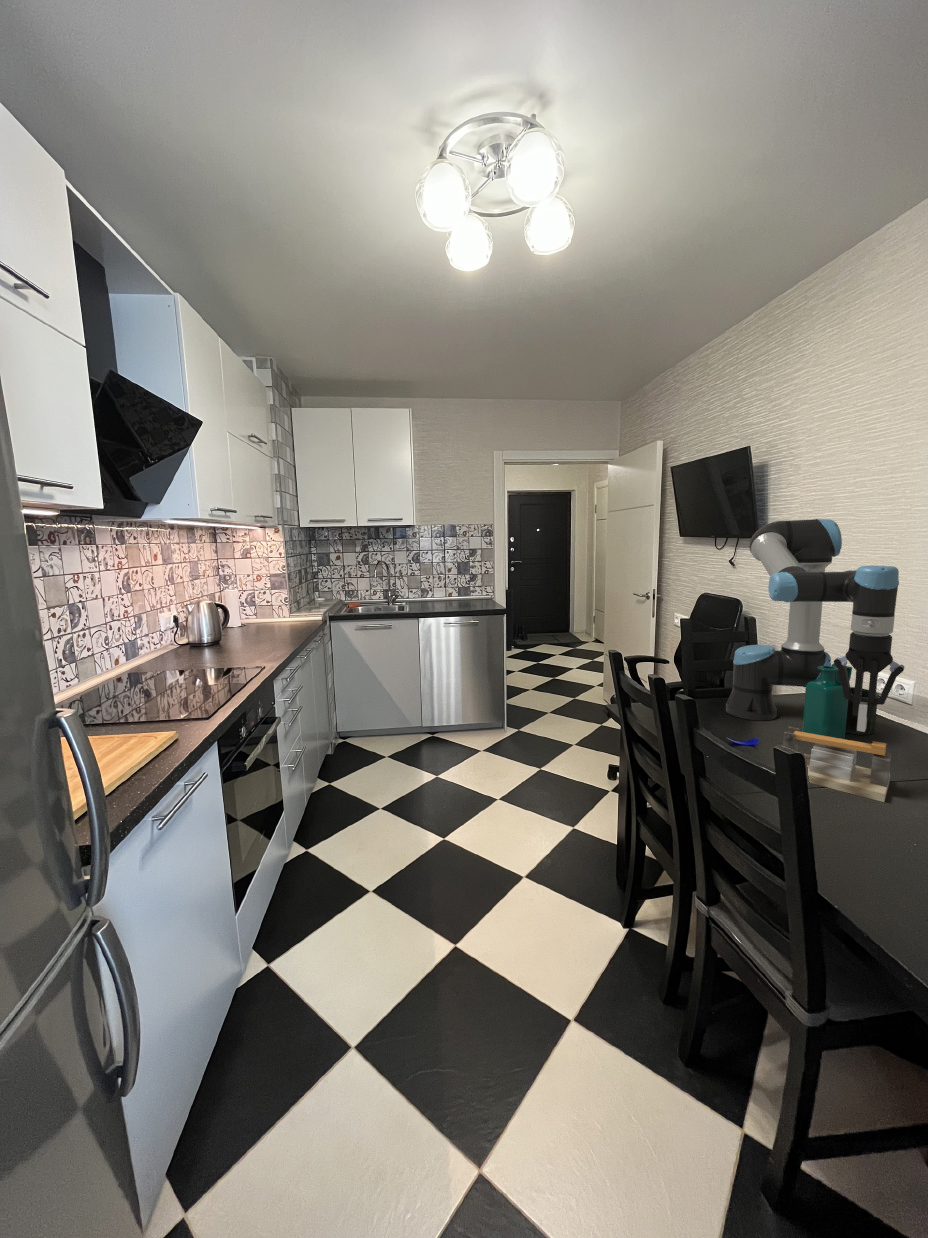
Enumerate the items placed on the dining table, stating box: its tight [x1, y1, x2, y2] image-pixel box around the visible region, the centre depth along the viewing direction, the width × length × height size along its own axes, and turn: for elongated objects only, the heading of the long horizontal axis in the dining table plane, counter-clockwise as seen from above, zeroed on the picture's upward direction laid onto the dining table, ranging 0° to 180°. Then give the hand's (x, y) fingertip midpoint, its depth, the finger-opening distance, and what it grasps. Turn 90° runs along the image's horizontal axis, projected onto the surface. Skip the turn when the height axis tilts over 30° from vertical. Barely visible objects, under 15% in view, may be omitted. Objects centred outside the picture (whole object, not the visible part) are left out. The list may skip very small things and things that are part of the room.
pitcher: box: [801, 662, 853, 740], centre depth 143 cm, size 10×8×22 cm
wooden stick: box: [794, 731, 887, 756], centre depth 120 cm, size 18×3×2 cm, turn 45°
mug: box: [845, 686, 881, 736], centre depth 151 cm, size 11×15×12 cm
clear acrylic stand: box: [782, 726, 892, 803], centre depth 121 cm, size 21×13×10 cm, turn 45°
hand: (861, 729), depth 116 cm, fingers closed
